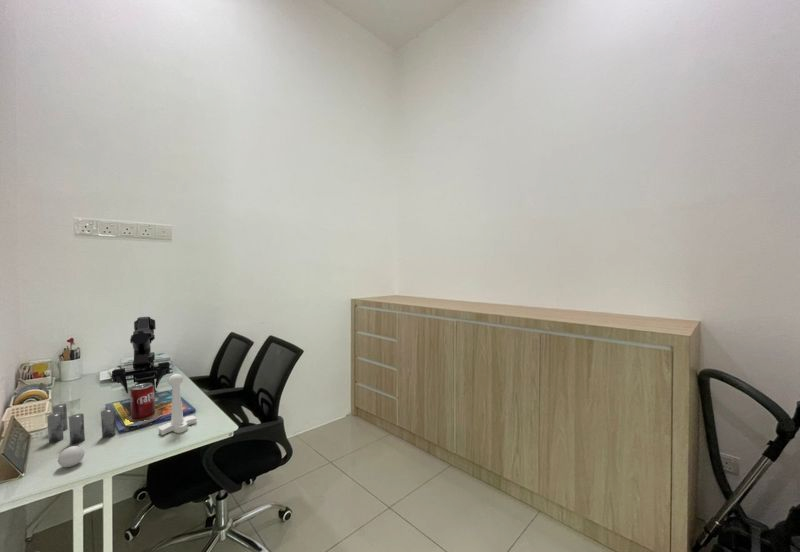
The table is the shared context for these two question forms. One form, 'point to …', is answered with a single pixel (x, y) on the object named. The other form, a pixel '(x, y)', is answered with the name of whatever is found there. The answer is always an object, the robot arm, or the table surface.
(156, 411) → the walnut pad
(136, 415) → the soda can
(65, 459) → the white egg
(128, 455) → the table surface
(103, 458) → the table surface
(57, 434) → the posts
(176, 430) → the joystick
